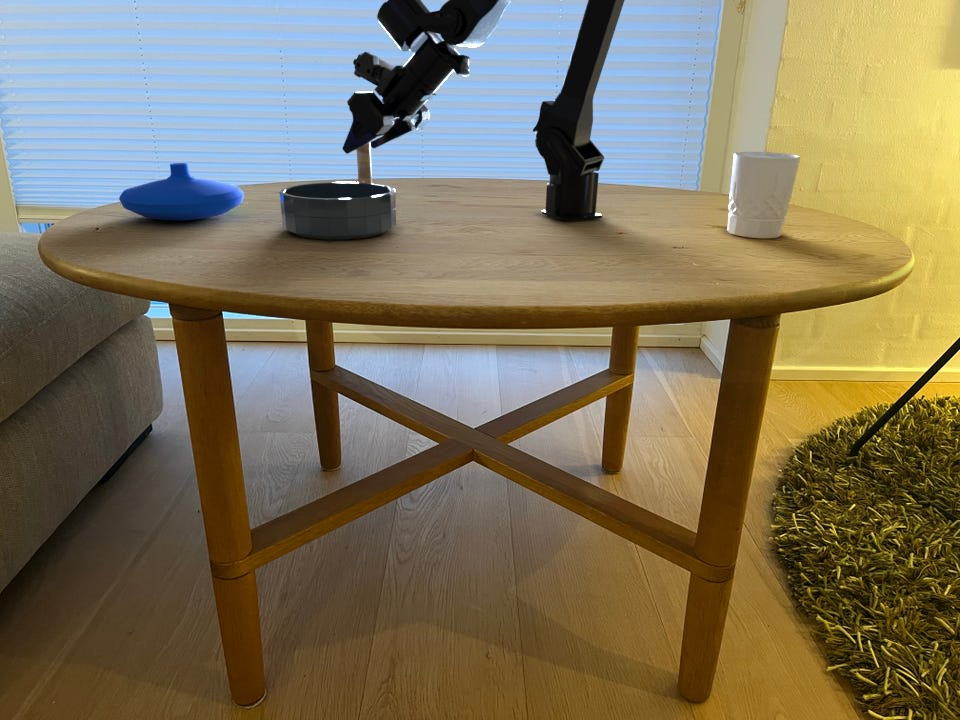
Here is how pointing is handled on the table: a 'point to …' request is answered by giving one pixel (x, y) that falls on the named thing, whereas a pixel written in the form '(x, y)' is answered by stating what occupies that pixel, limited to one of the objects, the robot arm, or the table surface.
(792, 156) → the white cup
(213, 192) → the vase
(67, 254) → the table surface
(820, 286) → the table surface
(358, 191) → the bowl
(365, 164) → the stirring stick
